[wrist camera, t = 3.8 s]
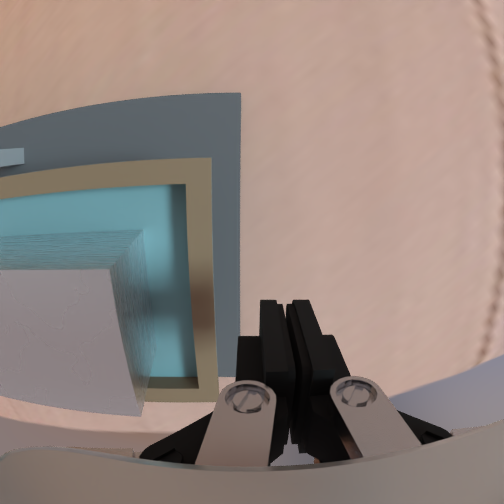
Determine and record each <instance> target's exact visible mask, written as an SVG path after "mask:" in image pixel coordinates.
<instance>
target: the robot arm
mask: <svg viewBox="0 0 504 504" xmlns="http://www.w3.org/2000/svg"><path fill="white" fill-rule="evenodd" d="M289 428H290V434H291V442H292V444H298V449H299V453H308V454H309V455H311V456H313V457H314V464H308V465H293V466H292V465H291V466H270V463H272V462H273V461H274V460H275V459H277V458H278V457H279V456H280V455H281V454H283V449H284V445H286V444H287V440H288V434H289ZM0 504H504V419H503V420H500V421H497V422H494V423H492V424H489V425H486V426H481V427H473V428H463V429H452V431H451V432H450V433H449V432H448V431H446V430H444V429H443V428H441V427H438V426H435V425H433V424H430V423H428V422H425V421H422V420H420V419H417V418H415V417H412V416H410V415H407V414H405V413H402V412H400V411H398V410H396V408H395V407H394V406H393V404H392V403H391V402H390V400H389V399H388V398H387V396H386V395H385V393H384V392H383V391H382V389H381V388H380V387H379V386H378V385H377V384H376V383H375V382H373V381H371V380H370V379H367V378H364V377H358V376H351V375H350V373H349V370H348V368H347V366H346V363H345V361H344V359H343V356H342V354H341V352H340V349H339V347H338V345H337V342H336V340H335V338H334V336H333V335H322V332H321V330H320V327H319V324H318V322H317V319H316V317H315V314H314V311H313V309H312V306H311V304H310V301H309V300H293V301H292V304H287V306H286V319H285V314H284V309H283V305H282V304H277V301H276V300H260V329H259V336H238V345H237V362H236V380H235V382H234V383H231V384H229V385H227V386H226V387H225V388H223V389H222V391H221V393H220V394H219V397H218V400H217V403H216V405H215V408H214V411H213V412H211V413H210V414H208V415H206V416H204V417H203V418H201V419H199V420H197V421H196V422H194V423H192V424H190V425H188V426H187V427H185V428H183V429H181V430H179V431H177V432H175V433H174V434H172V435H170V436H168V437H166V438H164V439H162V440H160V441H158V442H156V443H154V444H152V445H150V446H149V447H147V448H146V449H145V450H144V451H143V452H134V451H133V449H105V448H81V447H53V446H43V447H25V448H19V449H14V450H11V451H9V452H7V453H5V454H4V455H2V456H1V457H0Z"/></svg>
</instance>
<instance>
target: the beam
mask: <svg viewBox="0 0 504 504" xmlns="http://www.w3.org/2000/svg"><path fill="white" fill-rule="evenodd" d="M119 230H144V243H145V255H146V266H147V276H148V285H149V293H150V302H151V309H152V317H153V324H154V331H155V338H156V344H157V348H156V353H155V357H154V361H153V365H152V370H151V374H150V378H149V383H148V387H147V392H146V397H145V402H217V400H218V397H219V383H218V364H217V346H216V326H215V302H214V274H213V235H212V157H202V158H172V159H152V160H137V161H123V162H111V163H100V164H90V165H81V166H72V167H64V168H57V169H49V170H42V171H35V172H29V173H23V174H17V175H11V176H5V177H0V238H1V237H4V236H20V235H37V234H54V233H74V232H95V231H119Z"/></svg>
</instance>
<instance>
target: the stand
mask: <svg viewBox="0 0 504 504" xmlns="http://www.w3.org/2000/svg"><path fill="white" fill-rule="evenodd" d="M240 141H241V93H205V94H185V95H171V96H159V97H149V98H140V99H132V100H124V101H117V102H110V103H103V104H97V105H92V106H86V107H81V108H75V109H70V110H66V111H61V112H56V113H52V114H48V115H43V116H39V117H35V118H31V119H28V120H24V121H20V122H17V123H13V124H10V125H6V126H3V127H0V177H5V176H11V175H17V174H23V173H29V172H35V171H42V170H49V169H57V168H64V167H72V166H81V165H90V164H100V163H111V162H123V161H137V160H152V159H172V158H202V157H212V235H213V274H214V302H215V326H216V346H217V364H218V377H236V362H237V345H238V336H240Z"/></svg>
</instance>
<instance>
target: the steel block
mask: <svg viewBox="0 0 504 504" xmlns="http://www.w3.org/2000/svg"><path fill="white" fill-rule="evenodd" d="M156 348H157V344H156V338H155V331H154V324H153V317H152V309H151V302H150V293H149V285H148V276H147V266H146V255H145V243H144V230H119V231H95V232H74V233H54V234H37V235H20V236H4V237H1V238H0V396H4V397H8V398H12V399H16V400H21V401H26V402H30V403H35V404H40V405H46V406H51V407H57V408H64V409H70V410H77V411H85V412H93V413H102V414H112V415H124V416H139V417H141V416H142V411H143V406H144V401H145V397H146V392H147V387H148V383H149V378H150V374H151V370H152V365H153V361H154V357H155V353H156Z"/></svg>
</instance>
